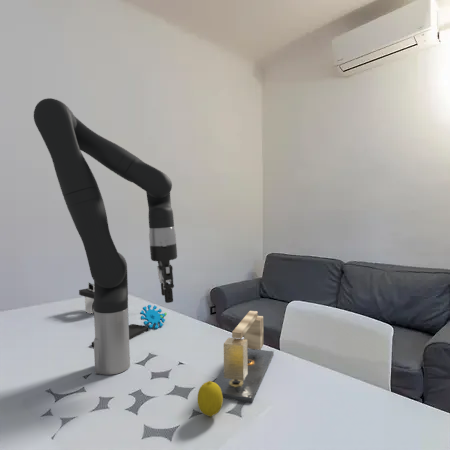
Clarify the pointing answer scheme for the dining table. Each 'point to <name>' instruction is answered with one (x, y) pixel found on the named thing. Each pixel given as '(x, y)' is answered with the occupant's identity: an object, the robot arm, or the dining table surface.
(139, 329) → the smart home device
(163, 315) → the blue knobbed spoke wheel
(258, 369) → the bolt plate
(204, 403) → the lemon
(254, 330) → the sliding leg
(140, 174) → the robot arm
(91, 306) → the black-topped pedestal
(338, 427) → the dining table surface
